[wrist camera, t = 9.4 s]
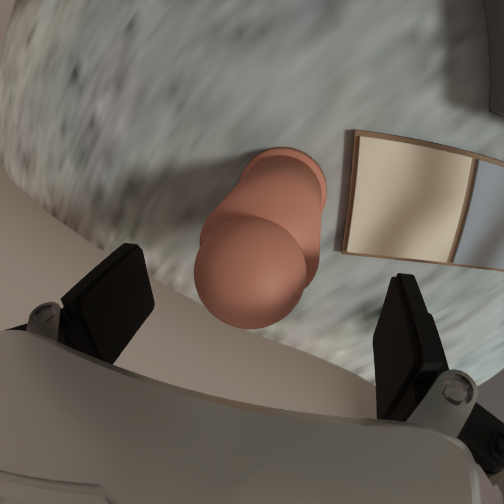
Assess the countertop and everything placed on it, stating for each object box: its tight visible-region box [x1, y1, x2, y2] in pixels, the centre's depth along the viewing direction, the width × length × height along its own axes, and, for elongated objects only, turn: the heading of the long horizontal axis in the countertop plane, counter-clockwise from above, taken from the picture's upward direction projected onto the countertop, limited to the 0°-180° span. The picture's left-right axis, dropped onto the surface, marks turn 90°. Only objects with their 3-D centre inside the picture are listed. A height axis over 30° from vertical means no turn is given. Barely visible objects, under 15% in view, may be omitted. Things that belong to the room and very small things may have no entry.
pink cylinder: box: [194, 147, 327, 329], centre depth 13 cm, size 5×5×11 cm
